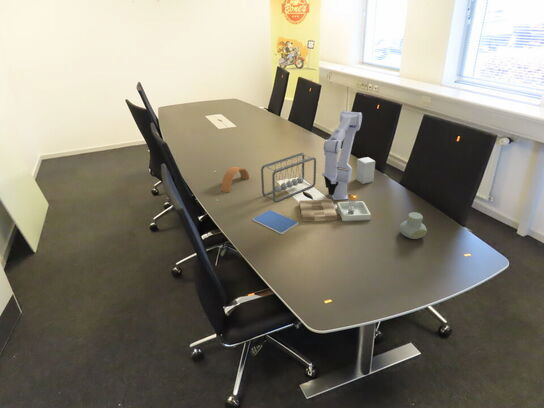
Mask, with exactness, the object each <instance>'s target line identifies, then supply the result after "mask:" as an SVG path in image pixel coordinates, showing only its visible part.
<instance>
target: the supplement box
mask: <svg viewBox="0 0 544 408" xmlns="http://www.w3.org/2000/svg"><path fill="white" fill-rule="evenodd" d="M375 169H376V160H374V159H372V158H370V157H369V156H367V157H361V158H357V160H356V170H355V171H356V173H355V180H356V181H358V182H360V184H362V185H363V184H368V183H369V184H370V183H372V182H374V179H375V178H374V177H375Z"/></svg>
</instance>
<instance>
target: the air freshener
mask: <svg viewBox="0 0 544 408" xmlns="http://www.w3.org/2000/svg"><path fill="white" fill-rule="evenodd" d="M423 218H424V216H423V215H422V214H421V213H420V212H417V211H415V212H414V211H412V212H410V213H408V216H407V219H406V220H404V221H403V222H401V223H400V225H399V231H400V233H401V235H403V236H405V237H406V238H408V239H413V240H418V239H422V238H423V237H424V236H426V234H427V231H428V229H427V227H426V225H425V224H423Z"/></svg>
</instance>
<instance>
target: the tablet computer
mask: <svg viewBox="0 0 544 408" xmlns="http://www.w3.org/2000/svg"><path fill="white" fill-rule="evenodd" d="M252 221H253V222H255V223H258V224H259V225H261V226H263V227H265V228H267V229H269V230H271V231H273V232H276V233H277V234H280V235H284V234H286V233H287V232H289V231H290V230H292V229H293V228H295V227H296V226H298V225H299V222H298V221H297V220H294V219H292V218H290V217H288V216H286V215H283V214H281V213H278V212H276V211H274V210H271V209H269V210H266V211H264V212H262V213H261V214H259V215H257V216H255V217H254V218H252Z"/></svg>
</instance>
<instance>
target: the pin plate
mask: <svg viewBox="0 0 544 408" xmlns="http://www.w3.org/2000/svg"><path fill="white" fill-rule="evenodd" d="M299 209H300V214H301V219H302V222H319V221H323V222H324V221H338V220H337V219H338V214H337V212H336V209H335V206H334V203H333V201H332V199H331V198H330V199H329V198H328V199H325V198H324V199H307V200H305V199H303V200H299Z"/></svg>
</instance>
